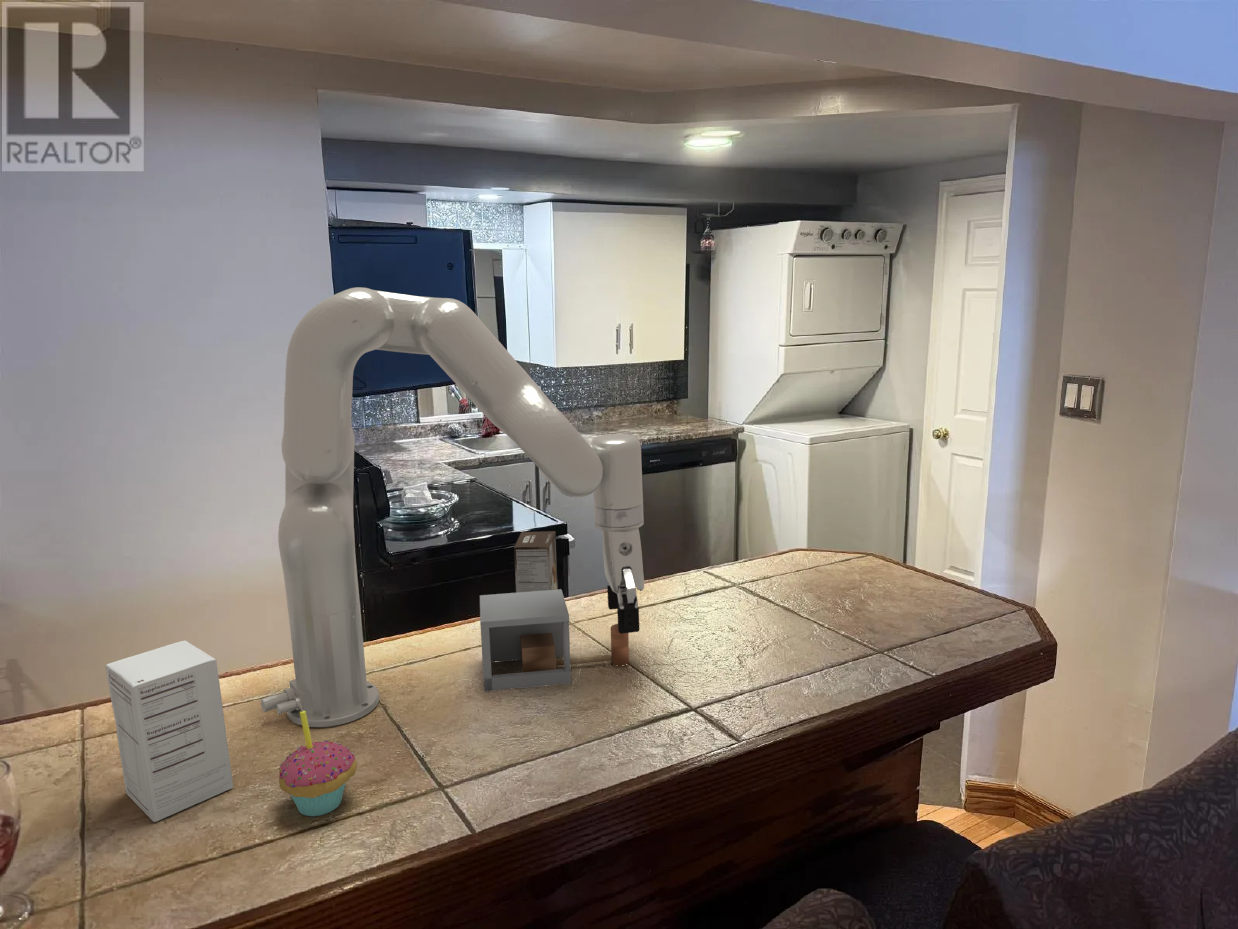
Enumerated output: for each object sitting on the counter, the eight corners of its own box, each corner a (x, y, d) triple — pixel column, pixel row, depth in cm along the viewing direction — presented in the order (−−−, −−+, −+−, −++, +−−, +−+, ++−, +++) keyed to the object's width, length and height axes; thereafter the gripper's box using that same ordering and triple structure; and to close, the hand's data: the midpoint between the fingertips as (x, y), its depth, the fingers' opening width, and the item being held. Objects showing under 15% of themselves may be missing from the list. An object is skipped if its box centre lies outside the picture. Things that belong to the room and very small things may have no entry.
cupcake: (266, 810, 96) (255, 715, 93) (328, 775, 103) (319, 685, 100) (313, 836, 91) (302, 736, 89) (375, 797, 98) (366, 703, 96)
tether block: (523, 679, 127) (521, 642, 126) (521, 665, 132) (519, 629, 131) (631, 668, 130) (631, 632, 129) (626, 655, 135) (625, 620, 134)
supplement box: (235, 788, 100) (219, 658, 97) (153, 825, 94) (133, 687, 90) (202, 760, 107) (186, 637, 103) (123, 792, 100) (103, 662, 96)
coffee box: (524, 615, 152) (520, 530, 149) (559, 614, 152) (556, 530, 149) (517, 635, 143) (513, 546, 140) (554, 635, 143) (551, 546, 140)
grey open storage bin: (484, 691, 123) (480, 622, 121) (483, 659, 134) (479, 595, 132) (571, 683, 126) (568, 614, 123) (563, 652, 136) (561, 589, 134)
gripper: (654, 528, 119) (658, 639, 123) (632, 499, 136) (636, 597, 140) (603, 533, 118) (608, 645, 122) (587, 503, 135) (592, 602, 139)
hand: (623, 619), depth 131 cm, fingers open, 9 cm apart
